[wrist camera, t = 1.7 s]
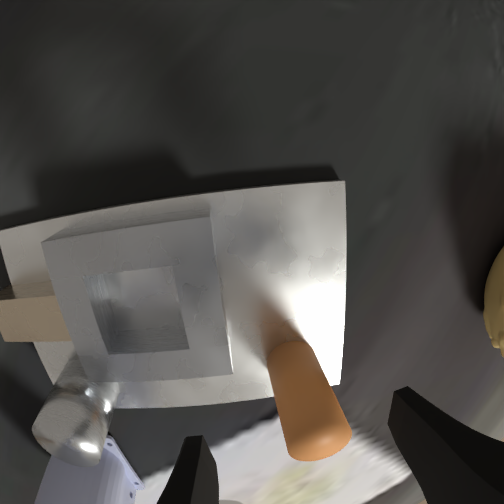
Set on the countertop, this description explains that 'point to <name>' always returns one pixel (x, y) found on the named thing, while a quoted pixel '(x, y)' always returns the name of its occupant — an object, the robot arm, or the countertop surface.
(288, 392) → the round pin
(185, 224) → the square frame peg fixture
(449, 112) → the countertop surface
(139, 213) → the grey base plate
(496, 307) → the yellow rounded lump
